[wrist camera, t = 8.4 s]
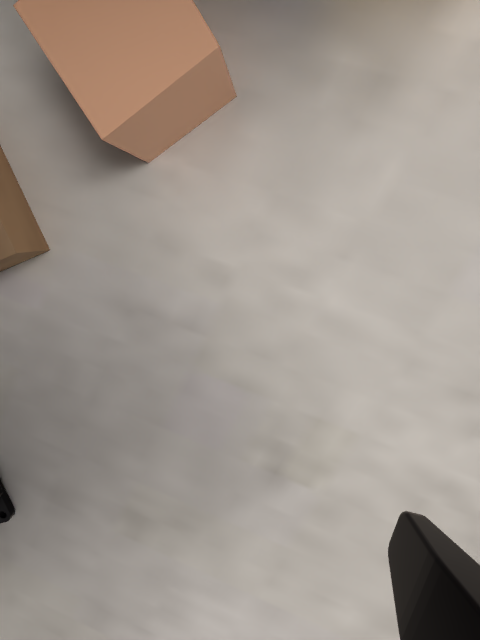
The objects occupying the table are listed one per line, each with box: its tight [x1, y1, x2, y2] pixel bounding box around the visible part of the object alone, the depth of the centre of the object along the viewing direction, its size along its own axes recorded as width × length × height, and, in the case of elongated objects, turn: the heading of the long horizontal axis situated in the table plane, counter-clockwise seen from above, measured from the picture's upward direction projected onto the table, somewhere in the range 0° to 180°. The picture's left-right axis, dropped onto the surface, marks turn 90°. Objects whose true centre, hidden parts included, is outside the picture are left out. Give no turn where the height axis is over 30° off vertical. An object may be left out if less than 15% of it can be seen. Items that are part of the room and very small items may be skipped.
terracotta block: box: [13, 0, 237, 163], centre depth 15 cm, size 5×5×5 cm
